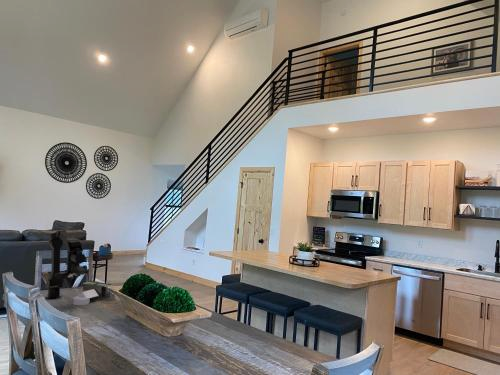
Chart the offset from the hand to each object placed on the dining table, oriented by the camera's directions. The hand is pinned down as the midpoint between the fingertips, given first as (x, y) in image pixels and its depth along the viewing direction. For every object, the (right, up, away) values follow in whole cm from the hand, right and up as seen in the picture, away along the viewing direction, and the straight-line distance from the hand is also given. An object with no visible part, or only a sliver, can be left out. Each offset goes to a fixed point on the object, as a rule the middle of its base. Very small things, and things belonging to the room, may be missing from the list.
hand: (71, 287), depth 211 cm
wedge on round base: (+4, -12, +9) cm, 15 cm away
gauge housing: (+8, -12, +20) cm, 24 cm away
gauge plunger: (+7, -11, +18) cm, 23 cm away
